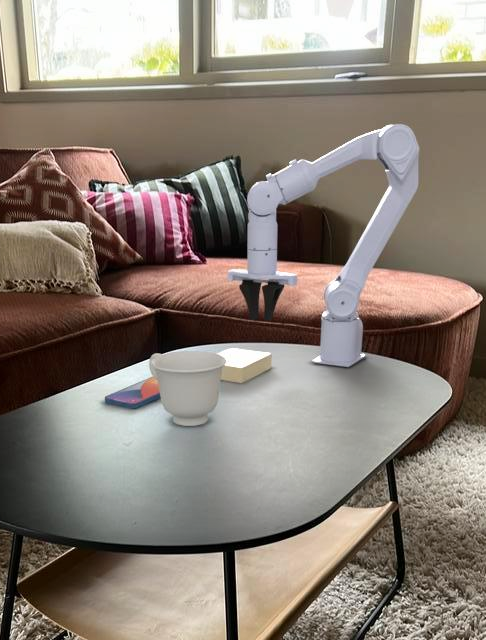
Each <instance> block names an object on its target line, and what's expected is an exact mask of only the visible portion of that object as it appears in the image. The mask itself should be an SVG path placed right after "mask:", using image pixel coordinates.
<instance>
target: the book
mask: <svg viewBox="0 0 486 640" xmlns="http://www.w3.org/2000/svg"><path fill="white" fill-rule="evenodd" d="M216 354H219V355H221V356H223V357H224V358H225V359H226V360H227V362H226V364H225V365H224V366H223V369H222V374H221V381H225V382H232V383H237V384H244V383H245V382H247V381H250V380H251V379H253V378H255V377H256V376H259V375H261V374H262V373H264V372H266V371H269V370H270V369H272V352H271V353H270V352H264V351H257V350H249V349H242V348H235V347H229V348H226V349H224V350H221V351H220V352H219V351H218V352H217V353H216Z"/></svg>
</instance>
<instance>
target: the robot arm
mask: <svg viewBox="0 0 486 640" xmlns="http://www.w3.org/2000/svg"><path fill="white" fill-rule="evenodd" d="M419 157H420V145H419V143H418V140H417V138H416V135H415V132H414V131H413V130H412V128H410V126H408V125H406V124H404V123H403V124H402V123H396V124H389V125H386V126H384V127H383V128H381V129H377V130H376V129H375V130H374V131H371V132H367V133H365V134H362V135H359V136H357V137H355V138H353V139H351V140H350V141H348V142H346V143H345V144H343V145H341V146H339V147H337V148H336V149H334V150H332V151H330V152H328V153H327V154H325V155H323V156H321V157H320V158H318V159H316V160H315V161H309V160H306V159H303V158H302V159H300V160H298V161H297V159H296V158H295V159H292V160H291V161H290V162H289V166H286V167H285V168H282V169H281V170H279V171H278V172H275V173H274V174H272V173H268V174H266V175H265V177H266V180H261V181H258V182H255V183H254V184H253V185H252V186H251V188H250V189H249V191H248V193H247V197H246V198H247V199H246V202H247V206H248V208H249V210H248V214H247V219H248V223H247V260H246V261H247V264H246V265H247V268H246V269H234V268H233V269H229V270H227V281H229V282H233V281H234V282H235V281H238V282H241V283H240V284H239V285H238V288H239V290H240V292H241V294H242V296H243V298H244V300H245V304H246V306H247V311H248V314H249V319H250V321H255V320H257V319H259V313H260V295H261V290H262V296H263V305H264V309H263V310H264V312H263V316H264V317H263V318H264V322H267V323H268V322H271V321H272V320H273V319H274V318H273V317H274V313H275V310H276V306H277V303H278V301H279V299H280V297H281V294H282V292H283V290H284V288H285V285H286V286H289V287H293V286H294V287H295V286H296V285H298V275H299V274H297V273H290V272H283V271H278V270H277V266H278V222H277V208H278V207H279V205H283V206H286V205H287V204H289V203H291V202H293V201H295V200H297V199H299V198H301V197H303V196H305V195H307V194H308V193H311V192H312V191H315V189H316V188H317V185H318V182H319V180H320V179H321V178H324V177H326V176H328V175H330V174H332V173H335V172H336V171H338V170H341V169H342V168H344V167H346V166H348V165H350V164H353V163H355V162H357V161H360V160H370V161H371V160H373V161H374V160H377V161H378V160H379V161H380V163H381V164H382V166H383V168H384V169H385V170H384V171H385V175H386V178H387V181H388V187H387V188H386V189H387V190H386V191H385V193H384V195H383V196H382V198H381V199H380V201H379V204H378V205H377V206H376V207H377V208H376V209H375V211H374V212H373V215H372V217H371V218H370V220H369V222H368V223H367V225H366V228H365V229H364V231H363V233H362V234H361V236H360V239H359V240H358V242H357V244H356V245H355V248H353V251H352V253H351V254H350V256H349V258H348V259H347V262H346V263H345V265H344V266H343V267H342V268H341V270H340V271H339V273H338V275H337V276H336V277H335V279H333V280H332V281H330V282H329V283H328V284H327V285H326V287H325V289H324V292H323V300H324V303H325V305H326V306H325V308H326V309H325V311H323V313H321V327H320V329H321V330H320V344H319V345H320V346H319V347H320V348H319V356H317V357H315V358H313V359H312V360H311V362H312V363H314V364H320V365H321V364H322V365H329V366H335V367H343V368H349V367H351V366H353V365H354V364H356V363H358V362H359V361H361V360H363V359H364V358H365V357H366V354H364V353H362V347H363V333H364V325H363V321H362V320H361V318H360V316H359V315H360V314H359V312H357V311H358V309H359V305H360V297H361V294H362V292H363V290H364V288H365V286H366V283H367V280H368V276H369V275H370V273H371V272H372V270H373V268H374V266H375V265H376V262H377V261H378V259H379V257H380V256H381V254H382V252H383V251H384V249H385V247H386V245H387V244H388V241H389V239H390V238H391V237H392V235H393V232H394V231H395V230H396V227H397V225H398V224H399V222H400V220H401V219H402V217H403V215H404V214H405V212H406V209H407V208H408V207H409V205H410V202H411V201H412V199H413V198H414V195H415V194H416V192H417V191H418V187H419ZM262 284H264V285H262Z"/></svg>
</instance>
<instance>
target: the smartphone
mask: <svg viewBox="0 0 486 640" xmlns="http://www.w3.org/2000/svg"><path fill="white" fill-rule="evenodd" d="M159 398H161V397H160V391H159V386H158V381H157V380H156V379H155V378H154V377H153V376H151V377H148V378H145V379H144V380H141V381H137V382H136V383H134V384H132V385H130V386H126V387H124V388H122V389H119V390H117V391H115V392H112V393H110V394H108V395H105V396H104V402H105V403H106V404H111V405H114V406H118V407H119V406H120V407H124V408H128V409H137V408H140V407H142V406H144V405H146V404H149V403H151V402H153V401H155V400H157V399H159Z"/></svg>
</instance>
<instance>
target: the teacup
mask: <svg viewBox="0 0 486 640" xmlns="http://www.w3.org/2000/svg"><path fill="white" fill-rule="evenodd" d="M226 362H227V360H226V359H225V358H224V357H223V356H221V355H219V354H217V353H216V352H211V351H204V350H203V351H201V350H186V351H185V350H182V351H172V352H167V353H163V354H161V353H157V352H156V353H153V354H152V355H151V356H150V358H149V361H148V366H149V371H150V374H151V375H152V377H154V378H155V379H156V380H157V381H158V386H159V391H160V397H159V398H160V401H161V404H162V406H163V409H164V410H165V412H167V413H168V414H170V415H172V416H173V418H172V422H173V423H174V424H175V425H178V426H183V427H196V426H201V425H204V424H205V423H207V422H208V421H209V417H208V415H209V414H211V413H212V412H213V411H214V410H215V409H216V408H217V405H218V402H219V397H220V389H221V381H222V380H221V374H222V369H223V366H224V365H225V364H226Z"/></svg>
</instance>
